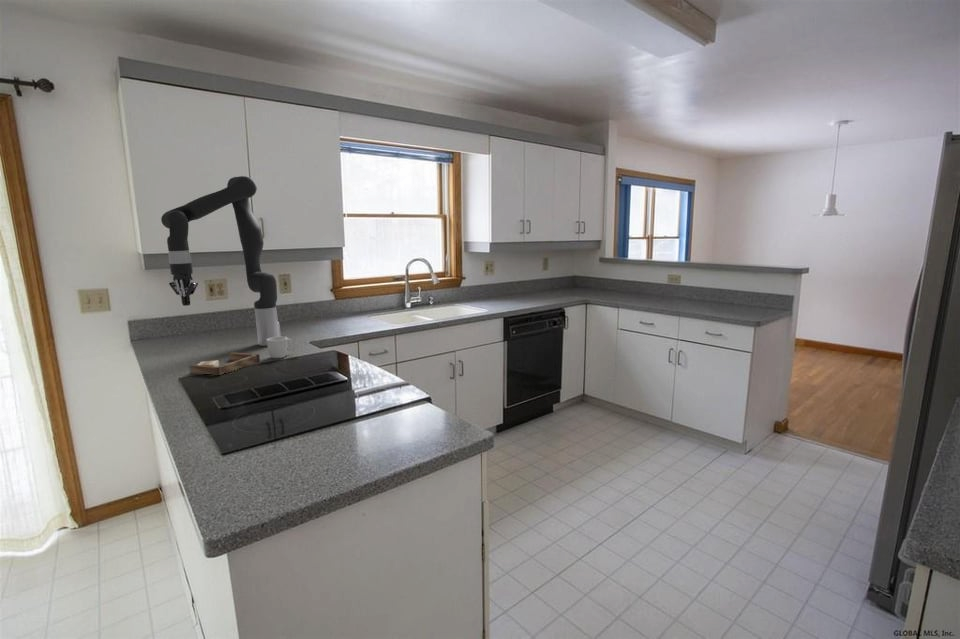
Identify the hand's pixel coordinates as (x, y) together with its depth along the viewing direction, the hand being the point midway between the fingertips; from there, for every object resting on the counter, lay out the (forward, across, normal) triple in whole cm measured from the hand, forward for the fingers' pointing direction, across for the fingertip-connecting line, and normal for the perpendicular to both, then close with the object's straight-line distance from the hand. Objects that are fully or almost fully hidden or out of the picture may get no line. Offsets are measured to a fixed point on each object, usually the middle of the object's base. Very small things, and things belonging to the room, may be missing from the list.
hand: (186, 305), depth 195 cm
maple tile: (+23, -18, +9) cm, 31 cm away
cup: (+23, -32, -14) cm, 42 cm away
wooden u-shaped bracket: (+23, -22, +5) cm, 32 cm away
